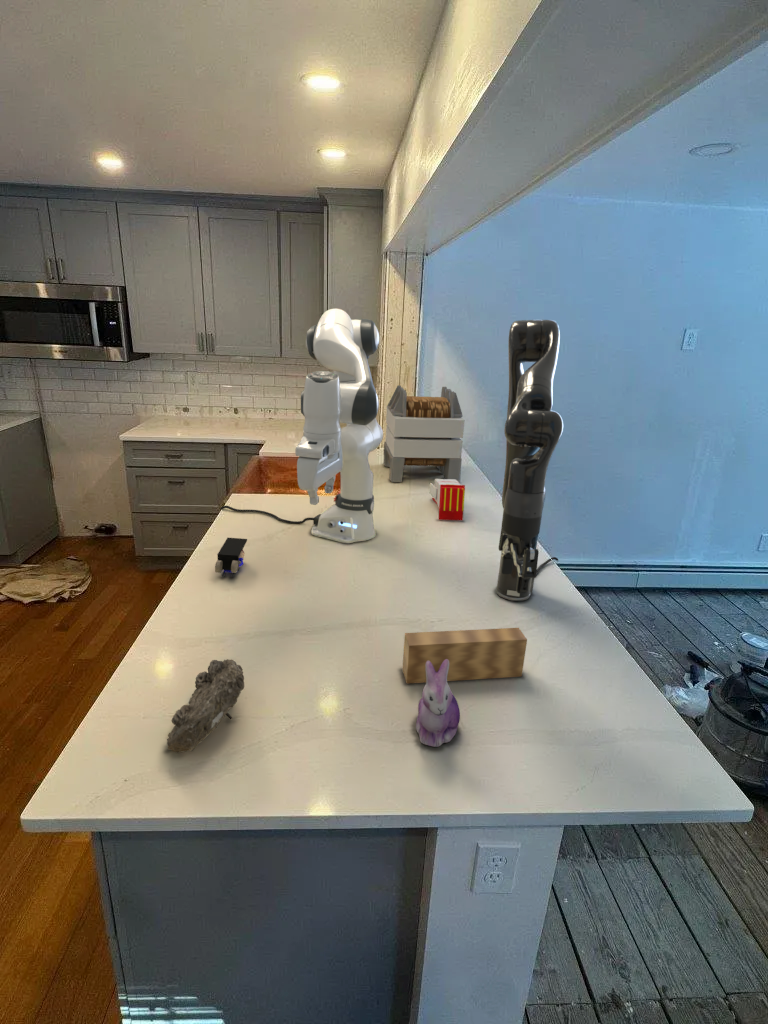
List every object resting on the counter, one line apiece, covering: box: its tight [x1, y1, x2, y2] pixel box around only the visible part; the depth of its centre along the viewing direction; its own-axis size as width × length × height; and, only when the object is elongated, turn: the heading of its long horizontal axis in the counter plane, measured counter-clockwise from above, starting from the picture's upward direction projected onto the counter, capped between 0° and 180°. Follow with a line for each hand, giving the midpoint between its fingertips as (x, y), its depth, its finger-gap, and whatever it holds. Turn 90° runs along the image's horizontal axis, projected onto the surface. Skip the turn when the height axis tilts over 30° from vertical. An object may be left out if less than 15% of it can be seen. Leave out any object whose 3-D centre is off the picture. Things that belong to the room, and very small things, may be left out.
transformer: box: [383, 384, 465, 483], centre depth 268 cm, size 34×33×41 cm
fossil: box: [166, 658, 245, 754], centre depth 106 cm, size 22×10×15 cm
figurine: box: [415, 659, 461, 748], centre depth 104 cm, size 9×10×15 cm
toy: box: [428, 478, 466, 521], centre depth 226 cm, size 12×13×30 cm
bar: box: [402, 627, 528, 684], centre depth 123 cm, size 26×5×9 cm, turn 99°
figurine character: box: [214, 537, 248, 578], centre depth 166 cm, size 7×8×15 cm
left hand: (321, 498), depth 139 cm, fingers open, 8 cm apart
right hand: (513, 582), depth 118 cm, fingers open, 8 cm apart
